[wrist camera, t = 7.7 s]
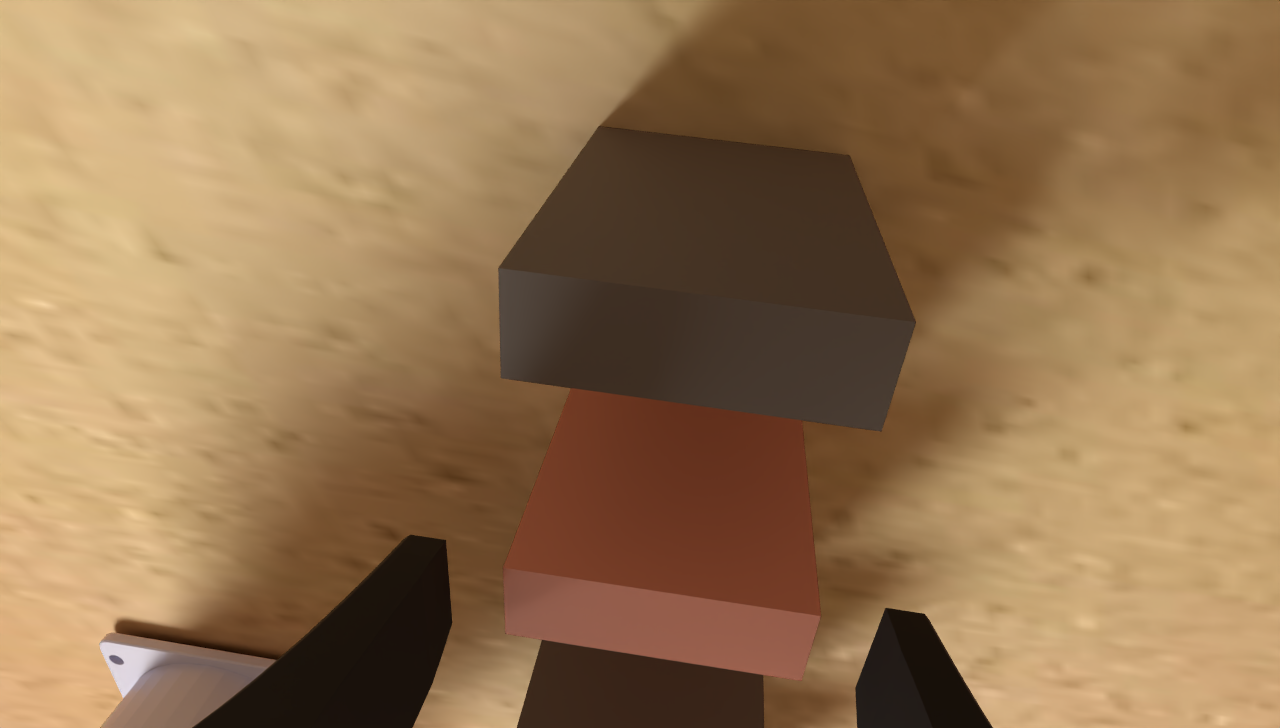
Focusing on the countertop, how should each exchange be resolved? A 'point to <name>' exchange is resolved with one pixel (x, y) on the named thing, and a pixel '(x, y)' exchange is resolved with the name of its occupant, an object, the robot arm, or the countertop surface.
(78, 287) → the countertop surface
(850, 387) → the domino
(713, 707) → the domino
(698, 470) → the domino
